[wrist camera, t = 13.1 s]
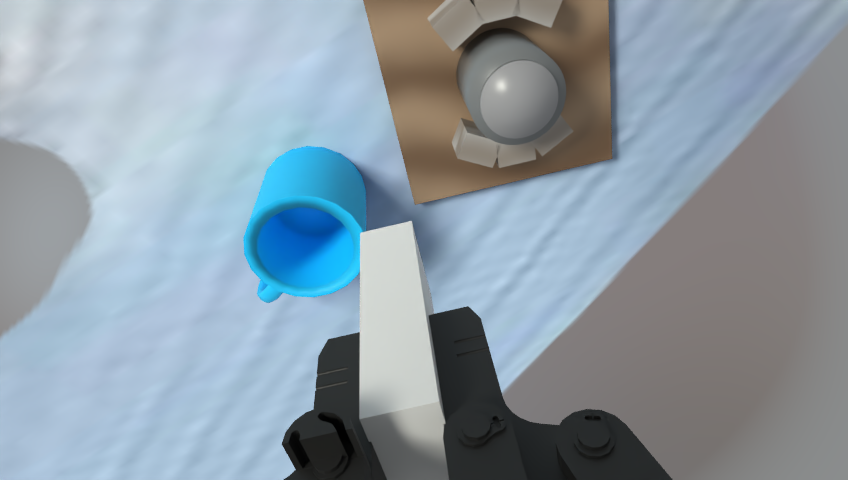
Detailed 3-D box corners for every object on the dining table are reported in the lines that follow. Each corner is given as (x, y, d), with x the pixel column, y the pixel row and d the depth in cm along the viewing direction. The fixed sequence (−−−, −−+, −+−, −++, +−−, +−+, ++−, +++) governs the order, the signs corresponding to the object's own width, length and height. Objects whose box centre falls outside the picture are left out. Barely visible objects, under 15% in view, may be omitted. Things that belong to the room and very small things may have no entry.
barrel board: (352, -44, 35) (351, -37, 32) (598, -105, 35) (625, -105, 31) (413, 197, 45) (418, 223, 41) (606, 152, 44) (627, 175, 41)
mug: (291, 126, 41) (277, 173, 34) (385, 178, 44) (389, 231, 37) (224, 243, 45) (200, 305, 39) (313, 283, 48) (305, 347, 42)
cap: (448, 40, 37) (462, 65, 32) (535, 18, 37) (564, 39, 32) (464, 122, 40) (479, 157, 35) (544, 102, 40) (571, 134, 35)
